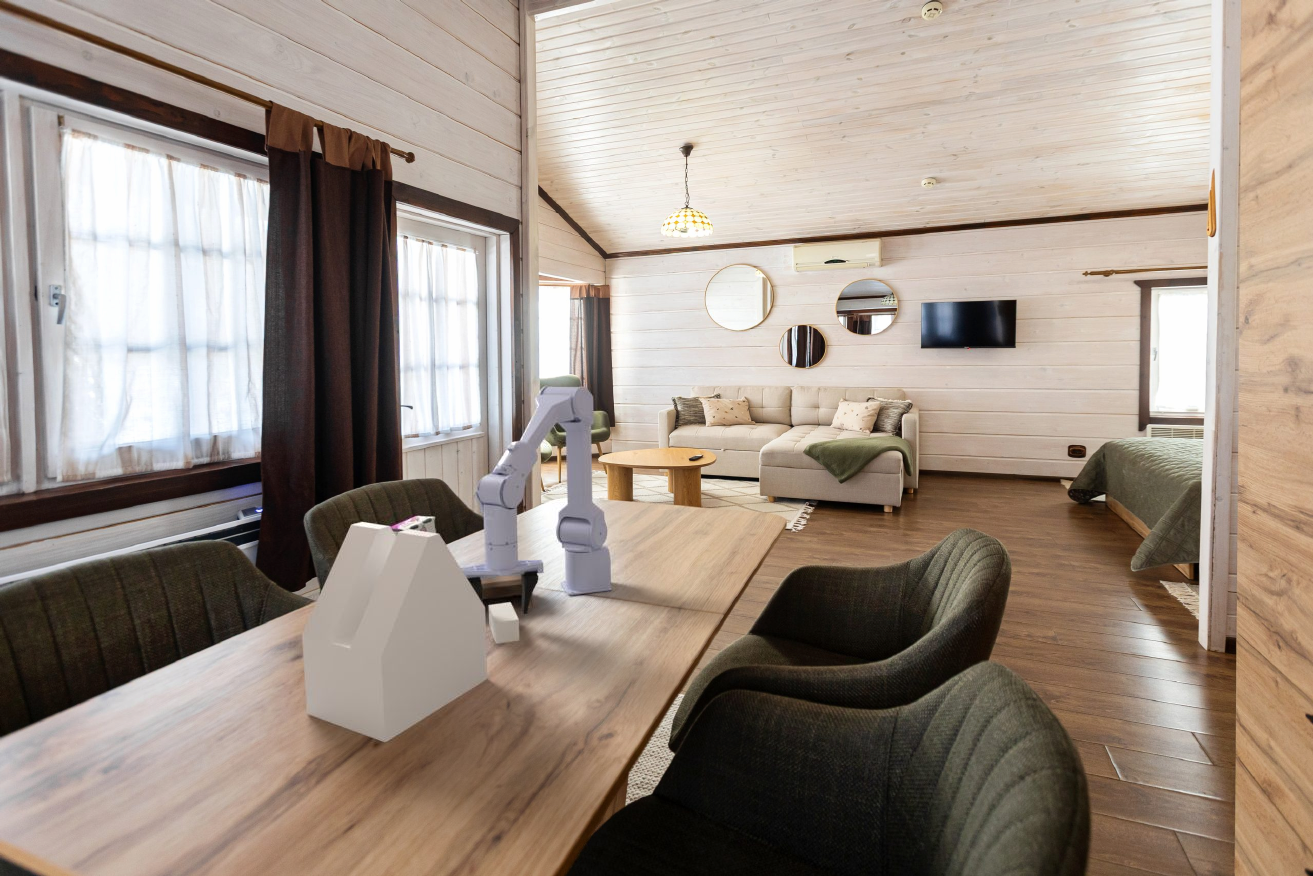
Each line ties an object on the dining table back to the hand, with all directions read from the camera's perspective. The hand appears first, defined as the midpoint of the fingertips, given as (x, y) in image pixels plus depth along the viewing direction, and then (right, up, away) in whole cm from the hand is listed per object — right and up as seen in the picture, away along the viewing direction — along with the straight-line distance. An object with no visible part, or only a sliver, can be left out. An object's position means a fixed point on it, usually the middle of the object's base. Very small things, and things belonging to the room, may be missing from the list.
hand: (503, 615), depth 119 cm
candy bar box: (-22, -2, +17) cm, 28 cm away
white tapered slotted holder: (-10, -6, -22) cm, 25 cm away
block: (0, -3, +1) cm, 4 cm away
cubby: (-5, -2, +14) cm, 15 cm away
